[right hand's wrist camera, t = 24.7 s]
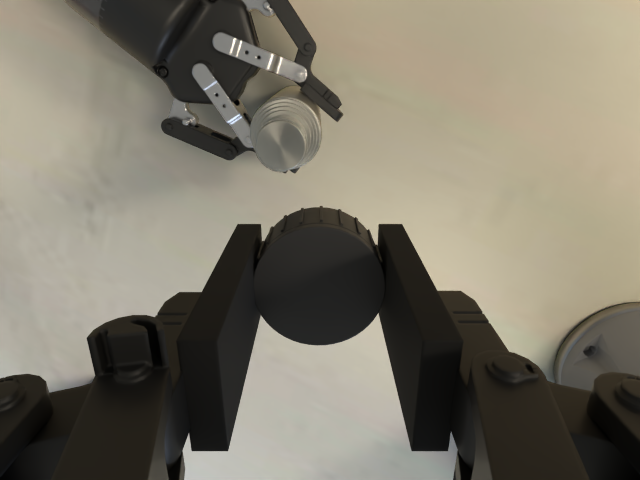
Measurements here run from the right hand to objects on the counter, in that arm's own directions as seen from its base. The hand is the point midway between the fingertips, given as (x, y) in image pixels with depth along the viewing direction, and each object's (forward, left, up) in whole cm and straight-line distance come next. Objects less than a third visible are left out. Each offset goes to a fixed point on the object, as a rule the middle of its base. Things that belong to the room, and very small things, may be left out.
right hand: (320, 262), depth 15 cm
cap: (0, 0, +2) cm, 2 cm away
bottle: (+1, -2, -28) cm, 29 cm away
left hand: (0, 0, -22) cm, 22 cm away
